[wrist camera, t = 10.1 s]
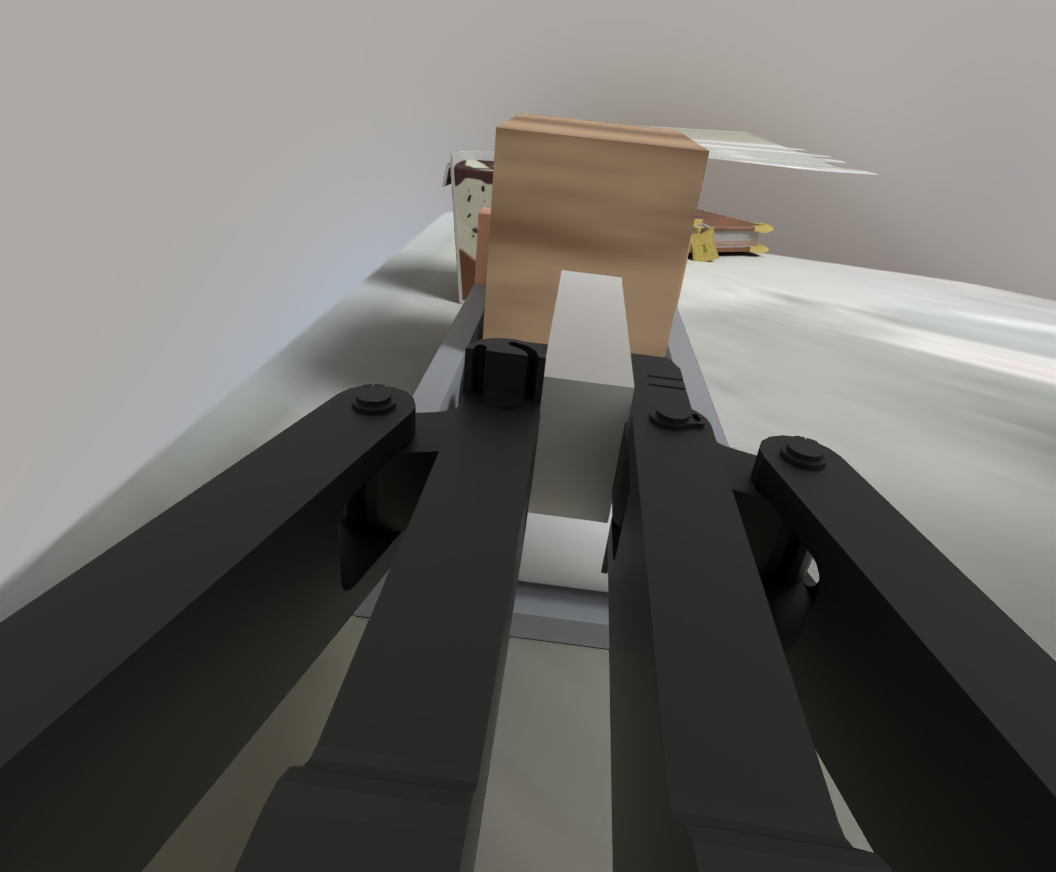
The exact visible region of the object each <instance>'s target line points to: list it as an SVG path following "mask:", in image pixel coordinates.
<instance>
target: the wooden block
mask: <svg viewBox="0 0 1056 872" xmlns="http://www.w3.org/2000/svg"><path fill="white" fill-rule="evenodd" d="M708 155H709V151H708V150H707V149H705V148H704V147H702V146H700V145H699V144H697V143H696V142H694V141H693V140H691V139H690V138H688V137H687V136H685V135H684V134H682V133H681V132H679V131H677V130H668V129H659V128H650V127H641V126H632V125H623V124H613V123H604V122H595V121H586V120H577V119H568V118H559V117H550V116H541V115H532V114H523V113H521V114H519V115H517V116H515V117H514V118H512V119H510V120H508V121H507V122H505V123H503V124H501V125H500V126H498V127H496V139H495V154H494V170H493V186H492V201H491V217H490V233H489V248H488V264H487V280H486V295H485V311H484V327H483V339H489V338H508V339H515V340H520V341H525V342H533V343H541V344H548V343H549V337H550V332H551V326H552V321H553V316H554V310H555V305H556V299H557V294H558V288H559V283H560V277H561V272H562V270H565V271H573V272H581V273H589V274H598V275H606V276H614V277H621V278H622V286H623V295H624V303H625V311H626V320H627V328H628V337H629V345H630V353H635V354H643V355H650V356H658V357H665V355H666V350H667V346H668V341H669V336H670V332H671V327H672V322H673V318H674V313H675V309H676V304H677V299H678V295H679V290H680V285H681V281H682V276H683V271H684V267H685V262H686V257H687V253H688V248H689V243H690V239H691V234H692V229H693V225H694V220H695V215H696V211H697V206H698V201H699V197H700V192H701V187H702V183H703V178H704V173H705V169H706V164H707V159H708Z"/></svg>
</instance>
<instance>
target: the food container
mask: <svg viewBox="0 0 1056 872" xmlns="http://www.w3.org/2000/svg"><path fill="white" fill-rule="evenodd" d="M494 154H495V151H492V150H477V151H475V150H474V151H461V152H456V153H453V154H451V160H450V163H448V164H447V165H446V170H445V175H444V180H443V184H442V186H443V187H445V186H447V185H449V184H452V198H453V214H454V230H455V245H456V261H457V277H458V292H459V303H460V304H464V302H465V300H466V298H467V296H468V295H469V293H470V291H471V289H472V287H473V285H474V284H475V268H476V249H477V231H478V213H479V212H480V211H481V210H482V208H483V207H488V208H491V201H492V186H493V170H494Z"/></svg>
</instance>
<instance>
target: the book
mask: <svg viewBox="0 0 1056 872" xmlns="http://www.w3.org/2000/svg"><path fill="white" fill-rule="evenodd" d="M773 229H774V228H773V227H771V226H770V225H768V224H761V223H750V222H746V221H742V220H738V219H734V218H730V217H726V216H722V215H718V214H715V213H711V212H706V211H703V210H698V209H697V211H696V215H695V220H694V225H693V229H692V234H691V237H692V240H691V245H690V250H689V253H692V259H693V261H701V262H707V261H711V260H714V259H717V258H719V256H718V253H717V252H755V253H764V252H766V251H769V249H768V248H767V247H766V246H764V245H760V244H757V239H758V235H759V232H764V233H767V232H770V231H772V230H773Z"/></svg>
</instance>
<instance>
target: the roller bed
mask: <svg viewBox="0 0 1056 872" xmlns="http://www.w3.org/2000/svg"><path fill="white" fill-rule="evenodd" d="M490 217H491V208H488V207H483V208H482V210H481V211H480V212H479V213H478V231H477V249H476V268H475V284H474V285H473V287H472V289H471V291H470V293H469V295H468V296H467V298H466V300H465V302H464V304H463V305H462V307H461V309H460V311H459V313H458V315H457V316H456V318H455V320H454V322H453V324H452V325H451V327H450V329H449V331H448V333H447V335H446V336H445V338H444V340H443V342H442V344H441V345H440V347H439V349H438V351H437V353H436V355H435V356H434V358H433V360H432V362H431V364H430V366H429V367H428V369H427V371H426V373H425V375H424V376H423V378H422V380H421V382H420V384H419V386H418V387H417V389H416V391H415V393H414V395H413V396H412V397H413V398H414V401H415V405H416V413H422V412H439V411H446V410H450V409H455V408H457V407H458V405H459V402H460V400H461V397H462V395H463V385H464V366H465V348H466V347H467V346H468V345H469V344H470V343H472V342H475V341H478V340H481V339H483V327H484V311H485V295H486V280H487V264H488V248H489V233H490ZM691 240H692V237H691V239H690V243H689V248H688V253H687V257H686V262H685V267H684V271H683V276H682V281H681V285H680V290H679V295H678V299H677V304H676V309H675V313H674V318H673V322H672V327H671V332H670V336H669V341H668V346H667V350H666V355H665V357H666V358H669V359H670V360H671V361H672V362H673V363H675V364H676V365H677V366H678V367H679V368H680V369H681V373H682V376H683V381H684V383H685V387H686V391H687V394H688V397H689V401H690V405H691V408H692V410H695V411H697V412H698V413H700V414H701V415H703V416H704V417H706V418H707V420H708V421H709V422H710V424H711V425H712V429H713V432H714V435H715V438H716V441H717V442H718V443H720V444H722V445H724V446H727V447H729V445H728V443H727V440H726V437H725V435H724V432H723V429H722V426H721V424H720V421H719V418H718V416H717V413H716V410H715V408H714V405H713V402H712V400H711V397H710V394H709V392H708V389H707V386H706V384H705V381H704V378H703V375H702V373H701V370H700V367H699V365H698V362H697V359H696V357H695V354H694V351H693V349H692V346H691V343H690V341H689V338H688V335H687V333H686V330H685V327H684V324H683V322H682V319H681V316H680V314H679V311H678V308H677V305H678V301H679V296H680V291H681V287H682V282H683V278H684V273H685V268H686V264H687V259H688V254H689V250H690V245H691ZM611 519H612V505H611V510H610V515H609V520H608V523H603V522H596V521H588V520H581V519H573V518H566V517H559V516H551V515H544V514H536V513H529V512H528V515H527V524H526V531H525V538H524V545H523V551H522V558H521V564H520V571H519V577H518V584H517V590H516V597H515V603H514V610H513V616H512V623H511V629H510V636H514V637H522V638H529V639H537V640H544V641H552V642H560V643H567V644H575V645H582V646H590V647H597V648H605V649H609V604H608V572H607V574H605V573H601V569H602V564H603V559H604V554H605V549H606V544H607V539H608V534H609V529H610V524H611ZM389 571H390V569H389ZM389 571H388V572H387V573H386V574H385V575H384V577H383V578H382V579H381V580H380V581H379V583H378V584H377V585H376V586H375V588H374V589H373V590H372V591H371V592H370V594H369V595H368V596H367V597H366V599H365V600H364V601H363V602H362V603H361V605H360V606H359V607H358V608H357V610H356V611H355V612H354V615H355V616H363V617H370V616H371V614H372V612H373V609H374V607H375V604H376V602H377V600H378V597H379V595H380V592H381V590H382V587H383V585H384V583H385V580H386V578H387V575H388V573H389Z"/></svg>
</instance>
